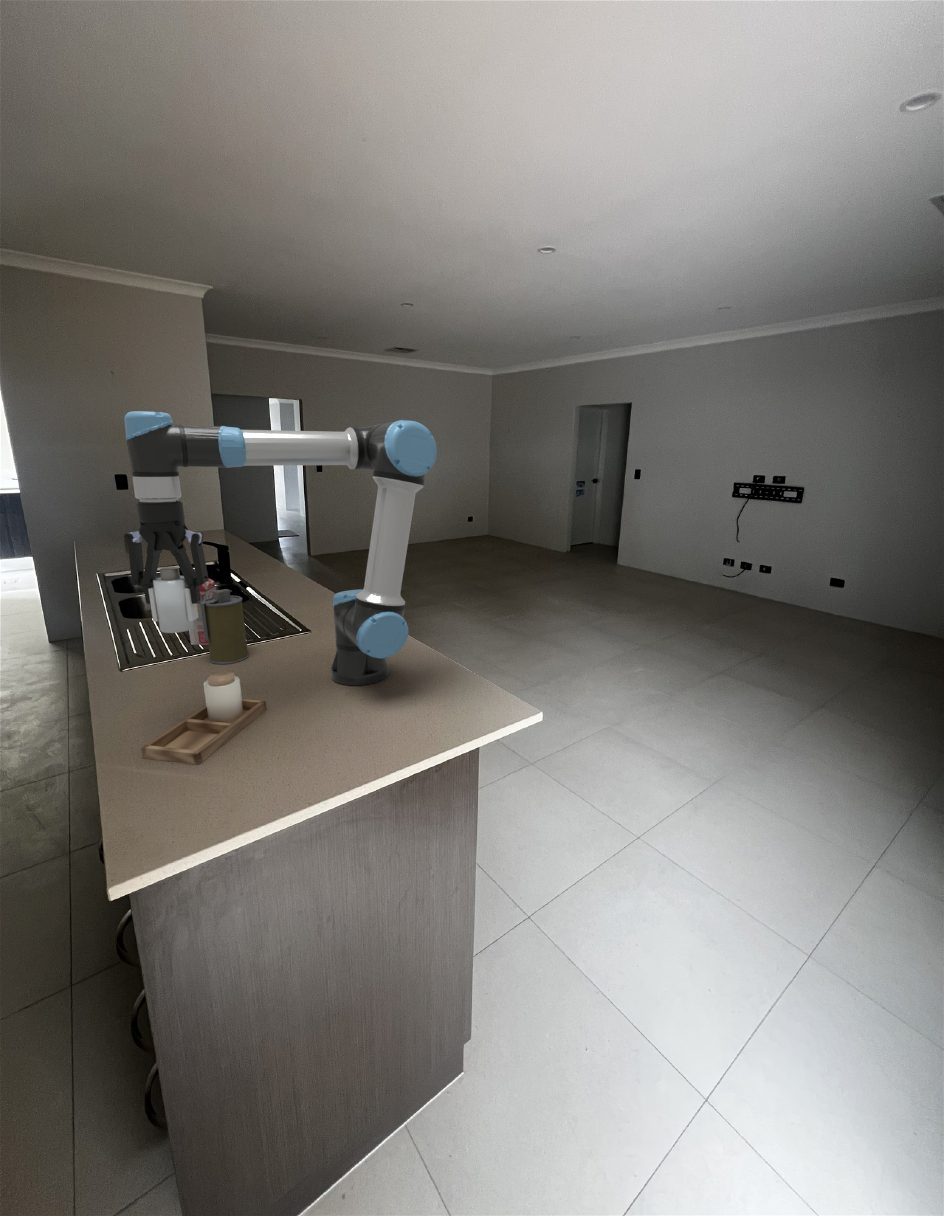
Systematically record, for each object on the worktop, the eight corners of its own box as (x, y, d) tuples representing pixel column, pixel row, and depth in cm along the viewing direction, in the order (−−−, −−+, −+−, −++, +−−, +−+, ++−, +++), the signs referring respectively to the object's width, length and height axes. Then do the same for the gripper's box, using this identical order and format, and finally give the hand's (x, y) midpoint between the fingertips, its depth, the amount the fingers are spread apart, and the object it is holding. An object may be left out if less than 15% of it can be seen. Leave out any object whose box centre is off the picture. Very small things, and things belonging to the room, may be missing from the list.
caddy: (267, 713, 122) (265, 701, 122) (199, 768, 101) (197, 754, 100) (219, 708, 125) (218, 696, 124) (143, 761, 103) (141, 747, 102)
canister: (237, 649, 163) (229, 584, 158) (255, 657, 157) (248, 590, 151) (201, 659, 155) (191, 591, 149) (219, 667, 149) (209, 597, 143)
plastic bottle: (186, 632, 104) (178, 571, 101) (154, 633, 104) (145, 571, 101) (199, 623, 110) (192, 565, 107) (169, 623, 109) (160, 565, 106)
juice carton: (221, 637, 173) (213, 570, 167) (212, 644, 167) (203, 575, 161) (200, 637, 173) (191, 570, 167) (191, 644, 167) (181, 575, 161)
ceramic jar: (250, 713, 120) (245, 671, 117) (231, 728, 114) (225, 684, 111) (222, 711, 122) (216, 669, 119) (201, 725, 115) (195, 681, 112)
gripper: (219, 498, 104) (232, 613, 110) (117, 498, 103) (136, 614, 109) (203, 501, 97) (218, 624, 103) (93, 501, 96) (115, 625, 102)
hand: (176, 619), depth 106 cm, fingers closed on plastic bottle, 6 cm apart
